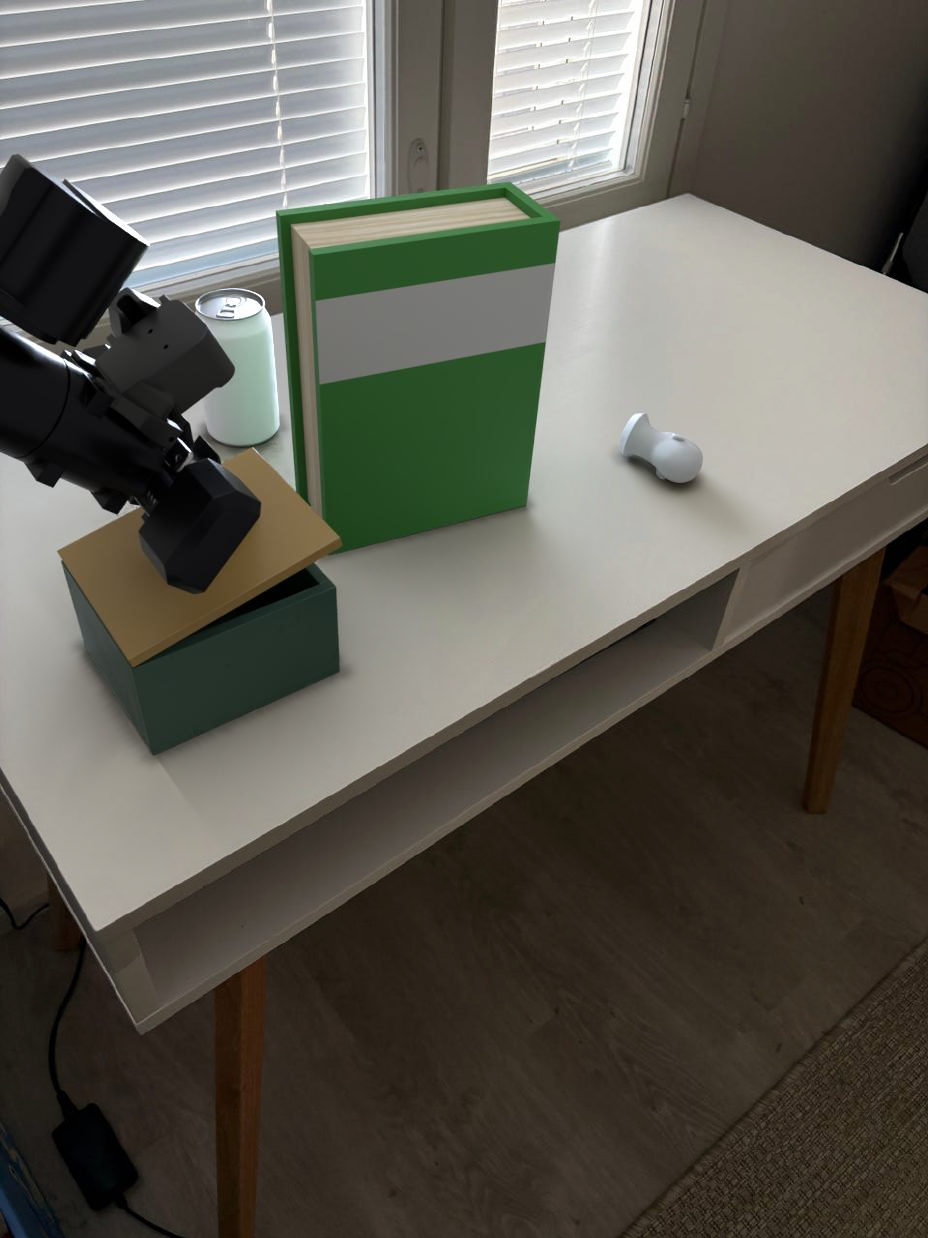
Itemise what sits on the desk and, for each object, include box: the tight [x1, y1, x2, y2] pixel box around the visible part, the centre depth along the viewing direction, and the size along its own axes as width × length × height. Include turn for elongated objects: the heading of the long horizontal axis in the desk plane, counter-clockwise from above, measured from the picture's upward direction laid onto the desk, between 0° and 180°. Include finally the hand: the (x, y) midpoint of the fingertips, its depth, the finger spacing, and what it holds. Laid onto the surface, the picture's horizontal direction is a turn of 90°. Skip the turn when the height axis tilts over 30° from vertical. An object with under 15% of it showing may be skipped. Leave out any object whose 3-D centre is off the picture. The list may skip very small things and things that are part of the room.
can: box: [194, 288, 280, 448], centre depth 87 cm, size 6×6×12 cm
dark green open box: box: [60, 559, 341, 756], centre depth 67 cm, size 14×12×8 cm
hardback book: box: [275, 181, 561, 556], centre depth 76 cm, size 18×7×24 cm, turn 116°
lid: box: [56, 446, 342, 667], centre depth 63 cm, size 14×12×1 cm
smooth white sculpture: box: [618, 412, 704, 484], centre depth 89 cm, size 4×8×5 cm
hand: (249, 510), depth 64 cm, fingers closed, pressing on lid
